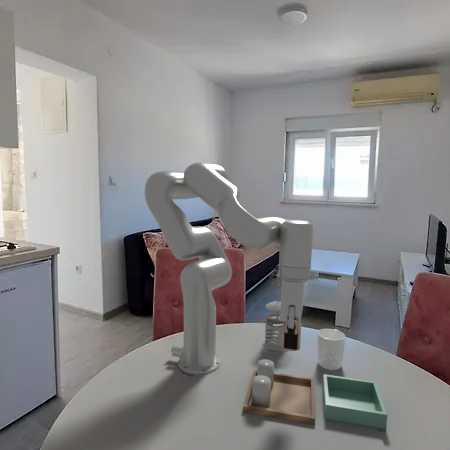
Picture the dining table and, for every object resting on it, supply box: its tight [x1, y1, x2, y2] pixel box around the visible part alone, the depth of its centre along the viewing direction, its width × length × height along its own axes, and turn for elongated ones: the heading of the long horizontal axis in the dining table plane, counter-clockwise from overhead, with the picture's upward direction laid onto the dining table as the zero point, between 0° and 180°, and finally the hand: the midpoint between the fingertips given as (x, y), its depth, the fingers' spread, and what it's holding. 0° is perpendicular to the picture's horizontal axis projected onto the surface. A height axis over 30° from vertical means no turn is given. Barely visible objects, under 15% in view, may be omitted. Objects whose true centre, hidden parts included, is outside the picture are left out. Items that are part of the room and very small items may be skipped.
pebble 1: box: [256, 358, 275, 388], centre depth 89 cm, size 4×4×6 cm
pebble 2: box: [252, 375, 271, 408], centre depth 82 cm, size 4×4×6 cm
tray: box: [242, 369, 316, 426], centre depth 85 cm, size 16×16×2 cm
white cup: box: [317, 328, 346, 371], centre depth 101 cm, size 8×8×10 cm
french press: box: [261, 273, 289, 353], centre depth 111 cm, size 10×12×25 cm
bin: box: [322, 373, 388, 432], centre depth 82 cm, size 13×13×4 cm
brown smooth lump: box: [282, 320, 302, 352], centre depth 83 cm, size 4×4×6 cm
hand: (291, 342), depth 83 cm, fingers closed on brown smooth lump, 4 cm apart
